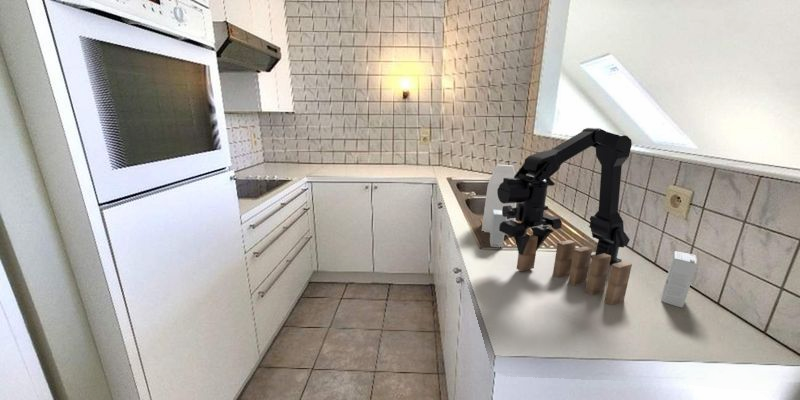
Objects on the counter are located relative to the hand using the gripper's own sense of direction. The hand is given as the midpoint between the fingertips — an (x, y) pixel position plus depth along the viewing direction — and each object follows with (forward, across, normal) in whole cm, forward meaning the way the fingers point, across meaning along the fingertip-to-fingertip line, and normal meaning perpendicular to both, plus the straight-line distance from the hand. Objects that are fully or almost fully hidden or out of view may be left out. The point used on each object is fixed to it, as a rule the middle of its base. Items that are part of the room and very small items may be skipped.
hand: (527, 252), depth 92 cm
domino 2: (+6, -8, +6) cm, 12 cm away
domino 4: (+6, -8, +16) cm, 19 cm away
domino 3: (+6, -8, +11) cm, 15 cm away
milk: (+6, -18, -31) cm, 36 cm away
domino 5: (+6, -8, +21) cm, 23 cm away
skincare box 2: (+6, -22, +27) cm, 35 cm away
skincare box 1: (+6, -6, -19) cm, 21 cm away
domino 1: (+5, 0, 0) cm, 5 cm away
